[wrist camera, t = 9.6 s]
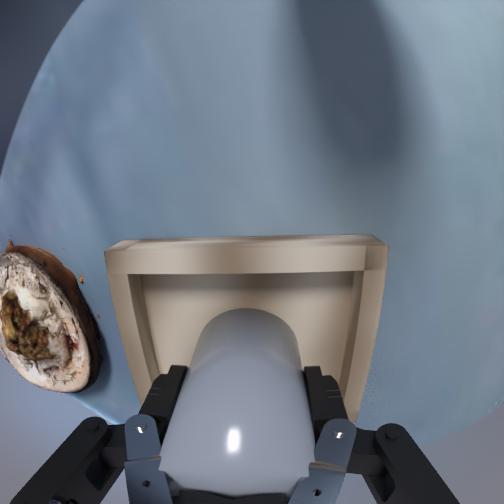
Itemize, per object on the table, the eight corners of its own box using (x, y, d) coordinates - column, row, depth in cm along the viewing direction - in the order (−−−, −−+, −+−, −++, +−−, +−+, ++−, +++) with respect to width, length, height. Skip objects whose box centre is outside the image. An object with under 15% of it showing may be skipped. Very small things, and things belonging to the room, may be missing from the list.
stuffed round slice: (145, 404, 20) (128, 441, 16) (20, 376, 21) (-1, 399, 17) (100, 215, 16) (60, 230, 12) (-26, 233, 17) (-58, 245, 13)
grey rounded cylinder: (301, 307, 15) (336, 455, 6) (295, 388, 16) (311, 523, 8) (192, 307, 15) (129, 447, 6) (203, 387, 16) (171, 517, 8)
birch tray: (371, 234, 16) (388, 245, 13) (348, 399, 19) (355, 422, 16) (123, 239, 16) (103, 251, 14) (156, 398, 19) (147, 420, 17)
